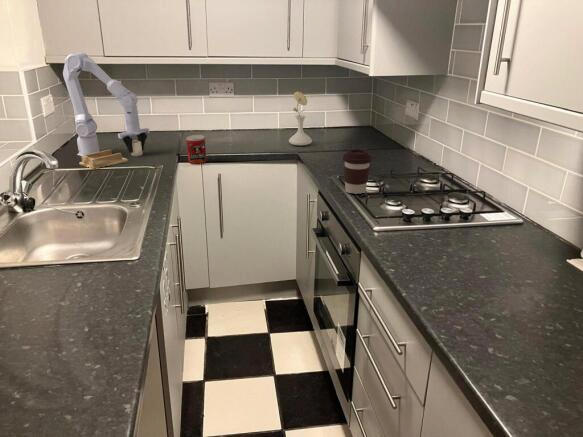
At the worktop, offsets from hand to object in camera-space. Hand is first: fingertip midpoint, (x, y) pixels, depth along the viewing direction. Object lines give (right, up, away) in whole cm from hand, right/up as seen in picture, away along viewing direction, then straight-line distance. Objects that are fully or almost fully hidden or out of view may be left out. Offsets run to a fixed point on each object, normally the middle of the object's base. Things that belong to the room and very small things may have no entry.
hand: (136, 151), depth 213 cm
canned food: (+30, -6, -10) cm, 32 cm away
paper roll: (0, -2, +1) cm, 2 cm away
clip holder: (-11, -6, -10) cm, 16 cm away
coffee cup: (+94, -21, -44) cm, 106 cm away
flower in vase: (+75, +6, +18) cm, 77 cm away
